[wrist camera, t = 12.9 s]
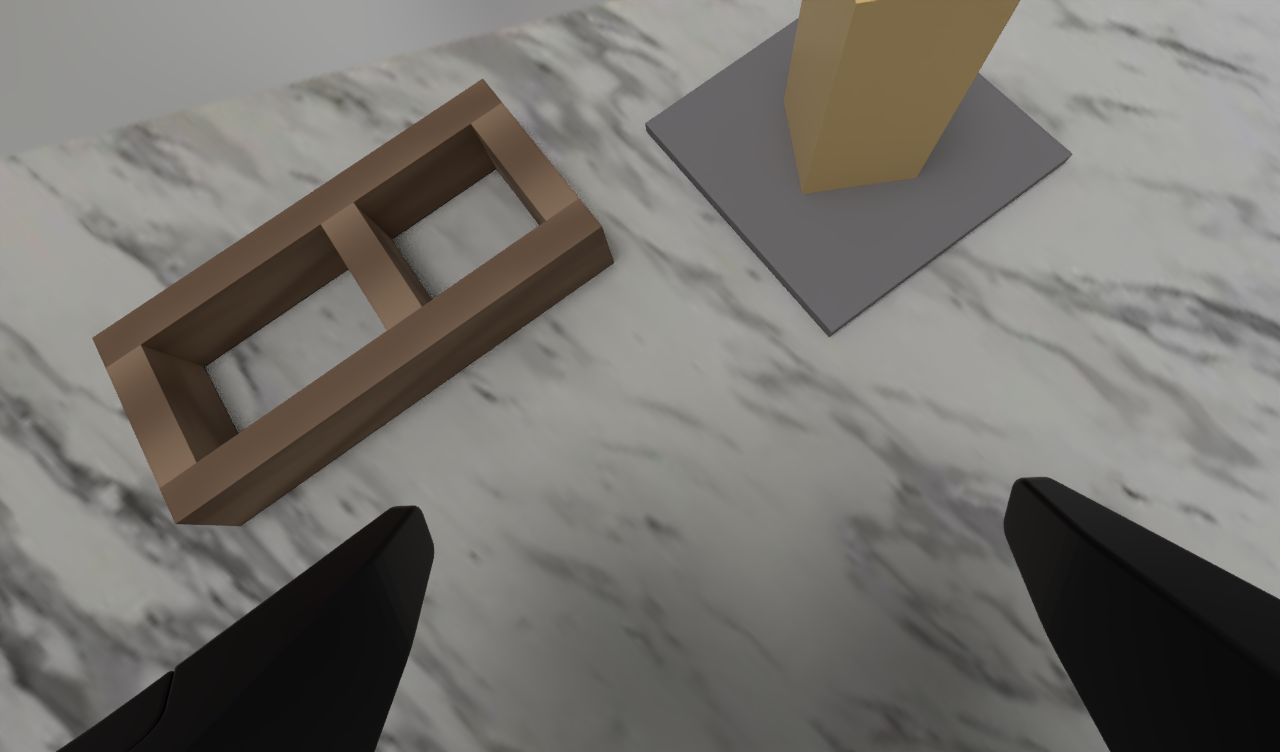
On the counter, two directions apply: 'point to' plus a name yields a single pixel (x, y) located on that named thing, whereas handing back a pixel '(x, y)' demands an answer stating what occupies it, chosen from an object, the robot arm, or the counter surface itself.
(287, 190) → the counter surface
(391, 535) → the robot arm
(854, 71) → the ochre plug
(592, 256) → the brown divided frame
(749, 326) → the counter surface
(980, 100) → the charcoal mat
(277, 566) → the counter surface
